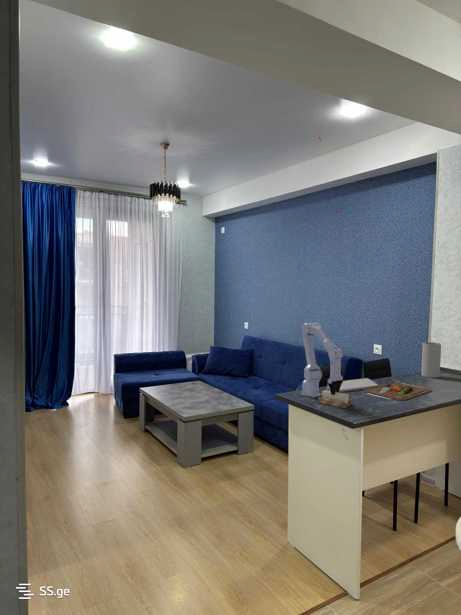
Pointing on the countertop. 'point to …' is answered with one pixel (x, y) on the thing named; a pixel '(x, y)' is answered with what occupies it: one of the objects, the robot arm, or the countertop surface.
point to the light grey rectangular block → (335, 396)
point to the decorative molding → (356, 385)
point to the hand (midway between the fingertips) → (334, 393)
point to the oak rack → (334, 402)
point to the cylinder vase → (431, 359)
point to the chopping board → (397, 391)
